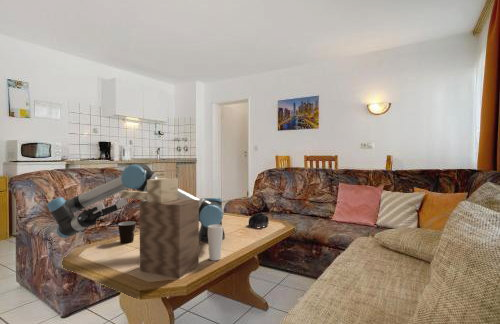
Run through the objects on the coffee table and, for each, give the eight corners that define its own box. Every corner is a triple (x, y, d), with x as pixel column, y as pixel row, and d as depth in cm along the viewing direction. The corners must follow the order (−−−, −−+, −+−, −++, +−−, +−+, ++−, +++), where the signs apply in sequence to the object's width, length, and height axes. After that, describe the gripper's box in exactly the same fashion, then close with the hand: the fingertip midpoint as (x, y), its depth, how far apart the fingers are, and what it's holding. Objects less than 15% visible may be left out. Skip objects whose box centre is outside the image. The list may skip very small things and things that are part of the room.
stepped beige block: (113, 199, 119) (113, 178, 118) (132, 195, 129) (132, 176, 129) (161, 203, 110) (161, 180, 110) (177, 199, 120) (177, 178, 120)
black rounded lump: (247, 224, 192) (246, 210, 191) (266, 222, 194) (265, 208, 193) (250, 231, 179) (249, 216, 178) (270, 229, 181) (269, 214, 180)
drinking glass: (208, 256, 129) (208, 224, 129) (222, 256, 130) (222, 224, 129) (207, 261, 122) (207, 228, 122) (222, 261, 123) (222, 227, 123)
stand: (139, 270, 112) (139, 202, 112) (162, 258, 125) (162, 197, 125) (179, 278, 106) (179, 205, 105) (198, 264, 119) (198, 199, 118)
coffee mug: (129, 244, 145) (129, 225, 145) (114, 243, 147) (114, 224, 146) (141, 238, 156) (141, 220, 156) (128, 237, 158) (128, 219, 158)
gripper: (108, 222, 144) (137, 206, 138) (61, 233, 121) (95, 215, 114) (103, 208, 145) (132, 192, 139) (56, 217, 122) (89, 198, 116)
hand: (115, 202), depth 127 cm, fingers open, 13 cm apart
